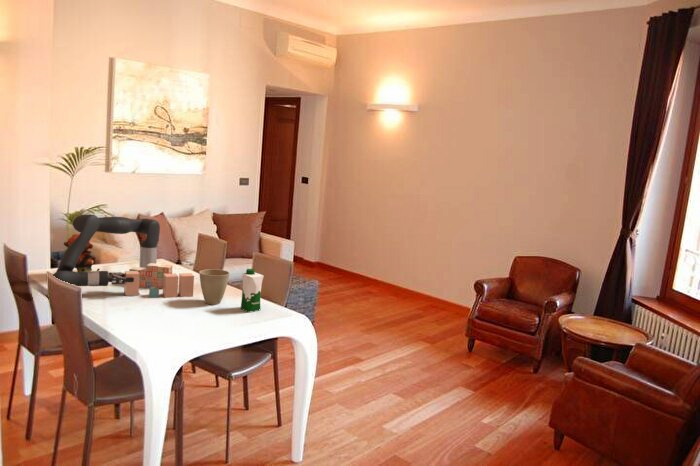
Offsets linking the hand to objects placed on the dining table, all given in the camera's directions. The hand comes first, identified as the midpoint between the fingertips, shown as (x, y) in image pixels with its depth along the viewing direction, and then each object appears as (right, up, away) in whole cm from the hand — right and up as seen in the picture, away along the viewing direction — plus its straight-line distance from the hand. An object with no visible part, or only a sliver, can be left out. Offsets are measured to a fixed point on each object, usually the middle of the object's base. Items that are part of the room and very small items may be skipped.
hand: (132, 277), depth 281 cm
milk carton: (+61, -16, -5) cm, 63 cm away
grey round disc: (-1, -8, +1) cm, 9 cm away
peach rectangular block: (+24, -10, +9) cm, 28 cm away
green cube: (+11, -10, +1) cm, 14 cm away
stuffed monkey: (-38, -2, +26) cm, 46 cm away
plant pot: (+41, -13, 0) cm, 43 cm away
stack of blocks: (+2, -6, +20) cm, 21 cm away
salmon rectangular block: (+18, -10, +5) cm, 21 cm away
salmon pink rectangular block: (-1, -8, +1) cm, 8 cm away
